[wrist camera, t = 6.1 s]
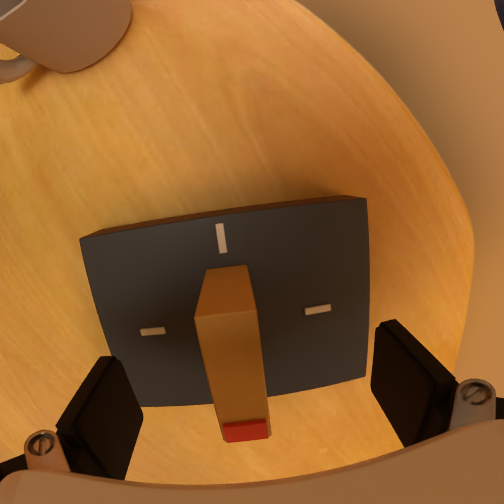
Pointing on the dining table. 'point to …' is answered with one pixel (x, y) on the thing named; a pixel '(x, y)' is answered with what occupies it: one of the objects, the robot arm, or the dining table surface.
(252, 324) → the red-cornered brown block
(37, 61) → the cup
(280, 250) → the plate
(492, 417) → the robot arm
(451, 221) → the dining table surface
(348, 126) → the dining table surface
